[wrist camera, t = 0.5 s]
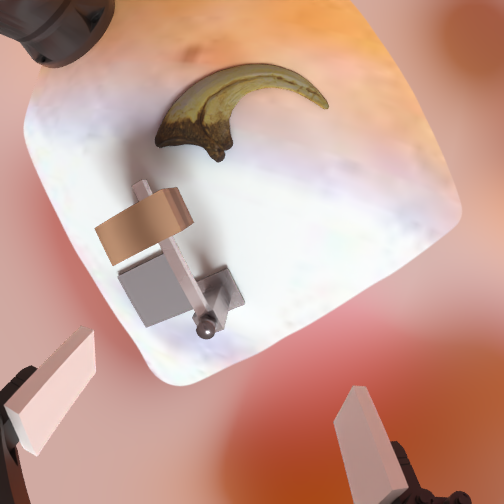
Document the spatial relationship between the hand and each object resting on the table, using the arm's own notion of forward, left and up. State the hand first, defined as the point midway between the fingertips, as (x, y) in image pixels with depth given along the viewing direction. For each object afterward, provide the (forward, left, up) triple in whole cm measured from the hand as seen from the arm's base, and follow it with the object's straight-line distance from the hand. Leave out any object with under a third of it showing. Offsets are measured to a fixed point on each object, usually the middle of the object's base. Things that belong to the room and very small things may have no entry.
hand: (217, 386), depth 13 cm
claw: (-16, +7, -25) cm, 31 cm away
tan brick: (-9, -6, -24) cm, 26 cm away
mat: (-1, -12, -24) cm, 27 cm away
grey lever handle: (-5, -5, -24) cm, 25 cm away
